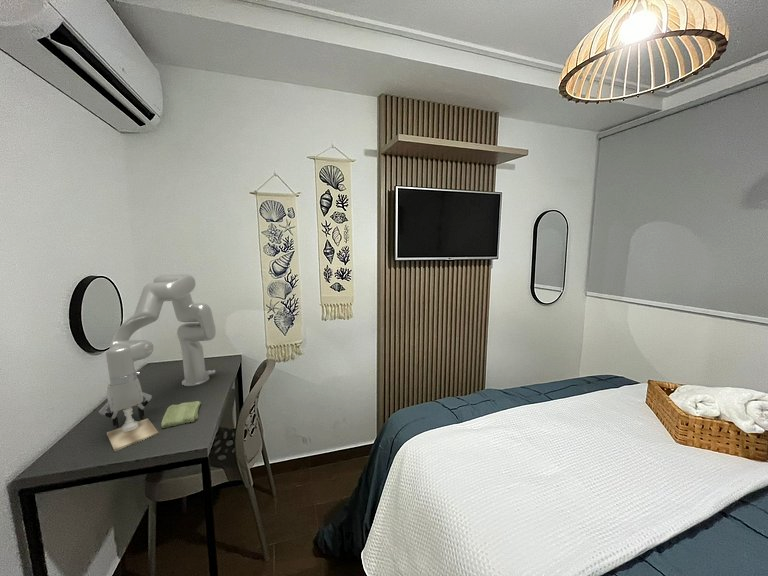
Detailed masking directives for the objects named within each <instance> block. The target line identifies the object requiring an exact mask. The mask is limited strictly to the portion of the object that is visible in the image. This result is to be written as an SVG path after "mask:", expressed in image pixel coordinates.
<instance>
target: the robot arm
mask: <svg viewBox="0 0 768 576" xmlns="http://www.w3.org/2000/svg"><path fill="white" fill-rule="evenodd" d="M195 288H196V279H195V278H194V276H192V275H191V274H161V275H159V276H155V278H154V279H153V282H150V283H149V282H148V283H147V284H145V285H144V286H143V288H142V291H141V293H140V297H139V299H138V302H137V305H136V308H135V310H134V313H133V315H132V316H130V317H129V318H127V319H126V320H125V321H124V322H122V323H121V325H120V326H119V327H118V328H117V329H116V331H115V332H114V334H113V336H112V339H111V341H110V344H109V349H107V350H106V351H105V352H106V353H105V357H106V363H107V370H108V376H109V378H108V379H109V383H108V385H107V395H106V396H107V397H106V398H107V402H106V403H105V404H104V405H103V406H102V407H101V408H100V409H99V411H98V413H99V414H101V415H102V416H105V417H106V418H109V419H111V423H112V426H113V427H115V429H118V428H120V425H119V418H118V416H117V415H118V413H119V411H123V410H124V409H125V408H129V407H132V408H133V407H135V406H137V407H138V409H137V413H138V418H139V421H141V420H144V418H143V417H145V411H144V410H145V407H146V406H147V404H149V401H151V399H152V398H153V396H152V395H151V394H148V393H146V392H143V389H142V386H141V382H140V380H139V377H138V376H140V375H141V373H140V372H141V371H136V370H135V362H137V361H141V360H144V359H146V358H147V359H148V357H150V356H151V355H152V354H153V351H154V350H155V349H154V348H155V347H154V345H153V343H152V341H149V340H146V339H145V340H144V339H137V340H136V339H133V340H130V338H131V337H132V336H133V335H134V333H136V332H137V331H138V330H139V329H141V328H144V327H146V326H148V325H151V324H153V323H155V322H156V321H158V320H159V318H160V314H161V312H162V308H163V305H164V303H165V302H171V303H172V307H173V311H174V313H175V317H176V319H177V321H178V322H180V323H183V324H181V325H180V326H178V328H177V330H176V331H177V332H176V334H177V335H176V336H177V338H178V341H179V344H180V348H181V356H182V365H183V374H184V375H183V377H184V379H183V380H182V381H181V385H182V386H183V385H184V386H183V387H195V386H198V385H202V384H204V383H206V382H208V381H209V380H210V375H214V374H216V370H215V369H212V370H211V369H208V370H206V365H205V364H206V363H205V356H204V348H203V347H204V346H203V345H202V343H201V342H206V341H209V342H210V341H212V340H213V339H214V338H215V337H216V326H215V321H214V316H213V313H212V312H213V311H212V309H211V307H210V305H208V304H207V303H204V302H197V303H195V302H194V300H193V298H192V294H191V293H192V292H193V291H194V290H195ZM144 398H145V400H144ZM108 409H110V411H111V412H109V411H107V410H108Z"/></svg>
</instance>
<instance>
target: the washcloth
mask: <svg viewBox="0 0 768 576" xmlns="http://www.w3.org/2000/svg"><path fill="white" fill-rule="evenodd" d="M201 402H202V401H199V400H197V401H195V400H194V401H189V402H188V401H187V402H181V403H179V404H171V405H169V406H168V407H167V409H166V411H165V413H164V415H163V416H162V419H161V423H160V424H161V426H160V427H161V429H167V428H171V427H170V426H172V427H176V426H178V425H179V426H180V425H186V424H189V423H190V422H191V423H193V422H195V420H196V421H197V420H198V417H199V411H200V410H199V409H200V405H201V404H202V403H201ZM185 423H186V424H185ZM191 423H190V424H191Z"/></svg>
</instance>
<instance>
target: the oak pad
mask: <svg viewBox="0 0 768 576" xmlns="http://www.w3.org/2000/svg"><path fill="white" fill-rule="evenodd" d="M137 422H138V425H139V426H138V427H137V428H136V429H134V430H132V431H129V432H123V431H122V426H121V427H118V428H115V429H113V430H110V431H107V432H106V436H107V439H108V440H109V442H110V445H111V447H112V450H113V451H114V452H117V451H120V450H123V449H124V448H127V446H128V447H129V446H133V445H135V444H137V442H138V443H141V442H143V441H145V439H146V440H148V439H150V438H149V437H151V438H153V437H152V436H154V437H156V436H158V435H157V434H160V432H159V431H158V430H157V428H156V427H155V426H154V424H153V423H152V422H151V421H150V419H149V418H148V417H147V418H145V419H144V418H143V420H139V421H137ZM155 435H156V436H155ZM147 438H148V439H147ZM142 440H143V441H142ZM140 441H141V442H140ZM132 444H133V445H132Z"/></svg>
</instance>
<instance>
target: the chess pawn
mask: <svg viewBox="0 0 768 576" xmlns="http://www.w3.org/2000/svg"><path fill="white" fill-rule="evenodd" d="M133 409H134V408H133V406H132V407H129V408H125V409H122V412H123V413H124V414H123V416H124V417H125V421H124V424H123V425H121V427H122V431H123V432H129V431H132V430H134V429H136V428H137V427H138V426H139V425H138V422H139V421H138V420H135V418H133V416H132V415H133V414H134V412H133Z"/></svg>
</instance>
